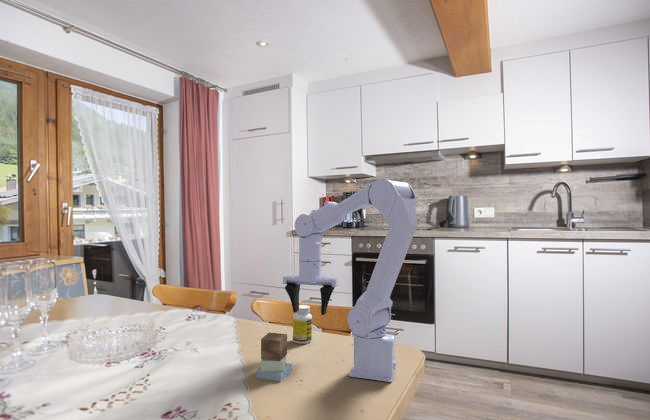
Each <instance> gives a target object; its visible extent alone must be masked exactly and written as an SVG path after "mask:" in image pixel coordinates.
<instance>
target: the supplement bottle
mask: <svg viewBox="0 0 650 420" xmlns="http://www.w3.org/2000/svg"><path fill="white" fill-rule="evenodd" d="M310 311H311V306H310V305H307V304H306V305H305V304H299V311H298V312H296V313H294V314H293V316H292V341H293V342H294V343H295V344H299V345H305V344H309V343H311V341H312V340H313V336H312V335H313V316H312V314H311V313H310Z"/></svg>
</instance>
